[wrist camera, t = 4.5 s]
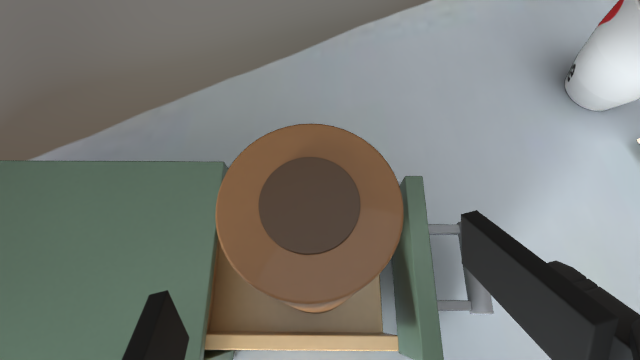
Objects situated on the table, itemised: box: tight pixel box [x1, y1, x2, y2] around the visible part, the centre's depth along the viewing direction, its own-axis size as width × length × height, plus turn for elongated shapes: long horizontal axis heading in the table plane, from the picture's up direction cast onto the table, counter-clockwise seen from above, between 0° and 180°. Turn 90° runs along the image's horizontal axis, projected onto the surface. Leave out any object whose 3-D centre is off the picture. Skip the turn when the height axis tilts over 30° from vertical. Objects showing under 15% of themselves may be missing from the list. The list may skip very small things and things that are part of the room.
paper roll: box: [215, 124, 404, 314], centre depth 18 cm, size 6×6×16 cm
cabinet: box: [0, 161, 234, 360], centre depth 24 cm, size 16×12×8 cm
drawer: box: [204, 176, 494, 360], centre depth 24 cm, size 20×11×6 cm, turn 90°
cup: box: [565, 0, 640, 111], centre depth 30 cm, size 8×8×10 cm
